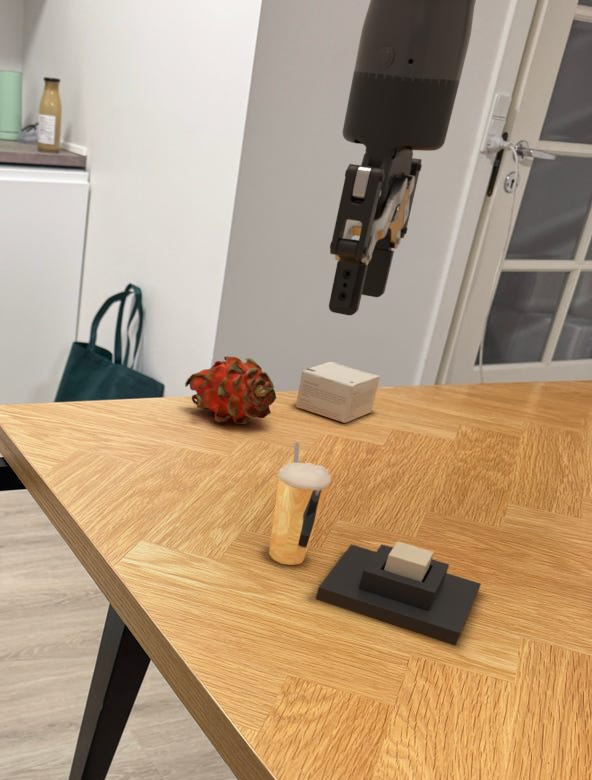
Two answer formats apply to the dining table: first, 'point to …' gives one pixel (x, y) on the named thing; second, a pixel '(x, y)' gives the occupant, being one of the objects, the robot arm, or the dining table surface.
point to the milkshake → (297, 509)
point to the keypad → (400, 594)
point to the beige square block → (408, 561)
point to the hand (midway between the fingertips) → (356, 303)
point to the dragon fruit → (233, 390)
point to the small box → (337, 391)
